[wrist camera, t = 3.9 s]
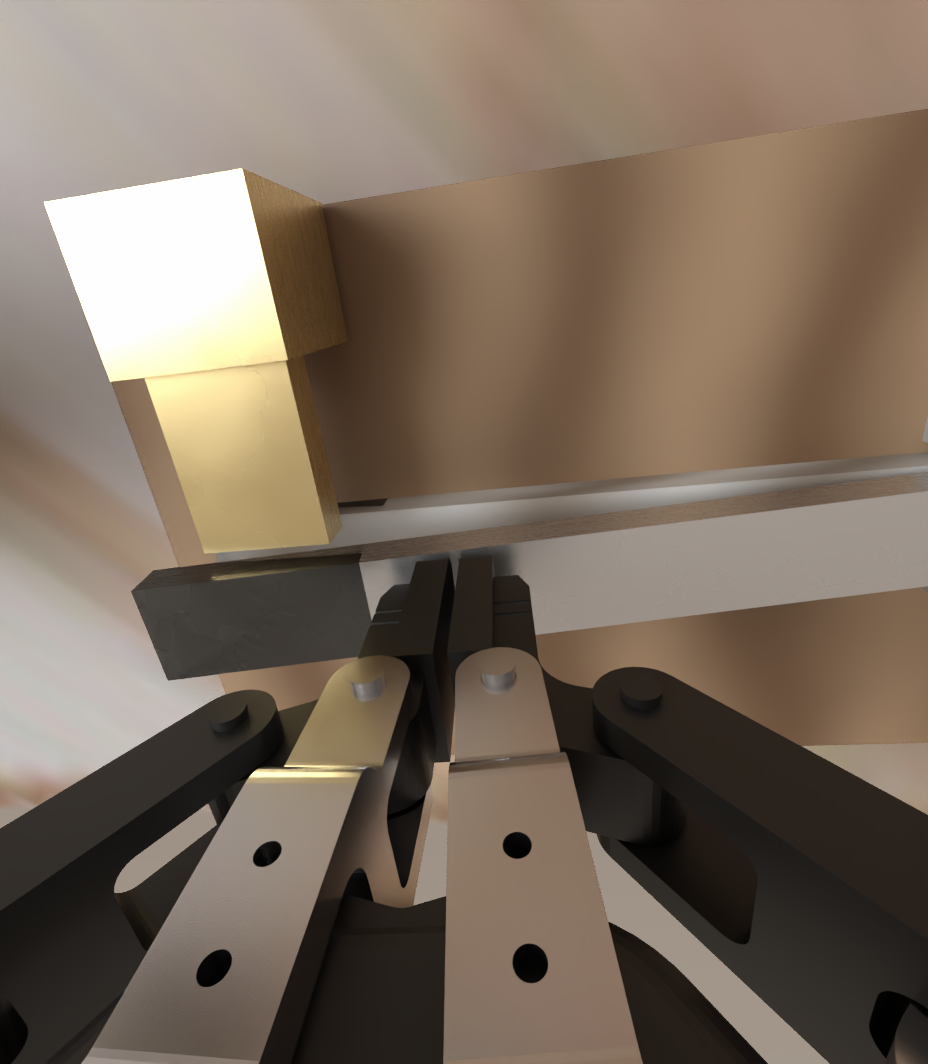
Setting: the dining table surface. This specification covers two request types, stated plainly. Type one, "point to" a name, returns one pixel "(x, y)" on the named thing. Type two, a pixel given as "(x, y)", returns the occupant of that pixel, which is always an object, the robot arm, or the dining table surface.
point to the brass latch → (218, 340)
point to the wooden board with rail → (636, 390)
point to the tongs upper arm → (553, 572)
